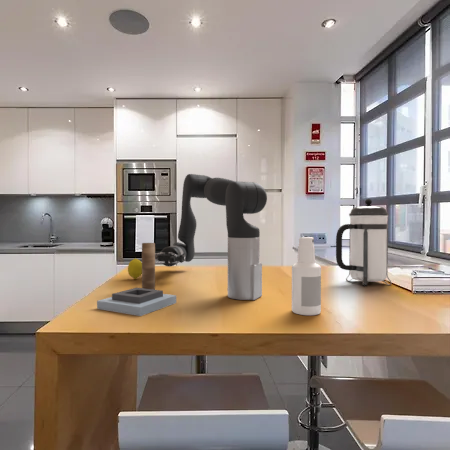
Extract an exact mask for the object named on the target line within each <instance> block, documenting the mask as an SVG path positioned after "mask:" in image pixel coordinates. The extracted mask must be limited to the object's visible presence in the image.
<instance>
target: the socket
mask: <svg viewBox="0 0 450 450" xmlns="http://www.w3.org/2000/svg"><path fill="white" fill-rule="evenodd" d="M176 303H177V295H175V294H170V293H169V294H168V293H164V291H163V290H160V289H159V290H158V289H155V290H153V289H144V288H142V287H133V288H130V289H125V290H122V291H119V292H115V293H111V296H110V297H106V298H104V299H99V300H97V301H96V309H97V310H102V311H108V312H113V313H120V314H127V315H132V316H138V317H142V316H145V315H148V314H150V313H153V312H156V311H158V310H161V309H163V308H166V307H169V306H171V305H172V306H173V305H174V304H176Z"/></svg>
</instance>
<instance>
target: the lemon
mask: <svg viewBox="0 0 450 450" xmlns="http://www.w3.org/2000/svg"><path fill="white" fill-rule="evenodd" d="M127 272H128V275H129V276H130V277H131V278H133V279H134V280H137V279H138V278H140V277H142V260H140V259H138V258H136V257H135V258H133V259H132V260H130V261H129V263H128V265H127Z"/></svg>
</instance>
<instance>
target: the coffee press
mask: <svg viewBox="0 0 450 450" xmlns="http://www.w3.org/2000/svg"><path fill="white" fill-rule="evenodd" d="M372 202H373V201H372V199H370V198H367V199H365V201H364V203H365V205H363V206H361V205H360V206H356V207H353V208H352V209H351V211H350V212H349V213H348V216H349V218H350V220H349V221H350V222H349V223H350V224H349V223H346V224H343V225H341V226H339V228H338V229H337V231H336V237H335V257H336V258H335V260H336V264H337V266H338V267H339V268H341V270H344V271H349V272H348V276H347V277H346V278H345V281H346V282H347V281H349V282H350V281H352V280H355V281H356V280H357V281H360V282H361V281H362V287H368V284H369V282H370V283H371V282H373V283H375V282H377V283H378V282H383V283H385V285H386V286H391V285H392V281H391V279H390V277H389V274H388V273H389V269H388V267H389V265H388V263H389V260H388V259H389V257H388V256H389V250H388V249H389V224H388V219H389V218H388V217H389V213H388V211H387V208H385V207H383V206H379V205H372ZM347 230H349V258H348V259H349V265H348V264H345V263H344V262H343V234H344V232H345V231H347ZM349 276H350V277H351V279H350V280H348V278H349ZM386 279H388V281H389V282H390V284H389V283H387V281H386Z"/></svg>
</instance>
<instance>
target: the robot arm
mask: <svg viewBox="0 0 450 450" xmlns="http://www.w3.org/2000/svg"><path fill="white" fill-rule="evenodd" d="M191 198H197V199H206V200H208V201H209V202H210V203H212V204H215V205H218V206H224V207H225V217H226V218H225V219H226V229H227V297H228V298H230V299H233V300H241V301H242V300H247V301H248V300H249V301H250V300H251V301H255V300H257V299H259V298H260V297H262V296H263V264H262V262H260V245H261V244H260V237H261V236H260V228H259V227H258V226H256V225H253V224H251V223H249V222H248V221H246V220H245V217H244V214H247V215H251V214H258V213H260V212H261V211H263V209H264V208H265V207H266V205H267V203H268V202H267V201H268V196H267V192H266V190H265V188H264V187H263V185H262V184H260V183H259V182H255V181H240V180H239V181H238V180H237V181H235V180H232V179H227V178H223V177H210V176H208V175H204V174H195V173H188V174H186V175H185V178H184V179H183V186H182V197H181V199H182V201H181V215H180V216H181V217H180V223H179V227H178V228H179V229H178V234H177V240H179V241H176V242H174V243H173V244H172V245H171V246H166V247H163V249H161V251H160V252H155V264H159V263H161V264H162V265H163V266H165V267H173V266H175V265H177V264H179V263H180V264H183V263H184V262H187V263H189V262H191V261H192V260H193V259H194V257H195V255H196V253H195V234H196V231H197V219H196V217H195V214H194V212H193V209H192V205H191V200H192V199H191Z"/></svg>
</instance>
